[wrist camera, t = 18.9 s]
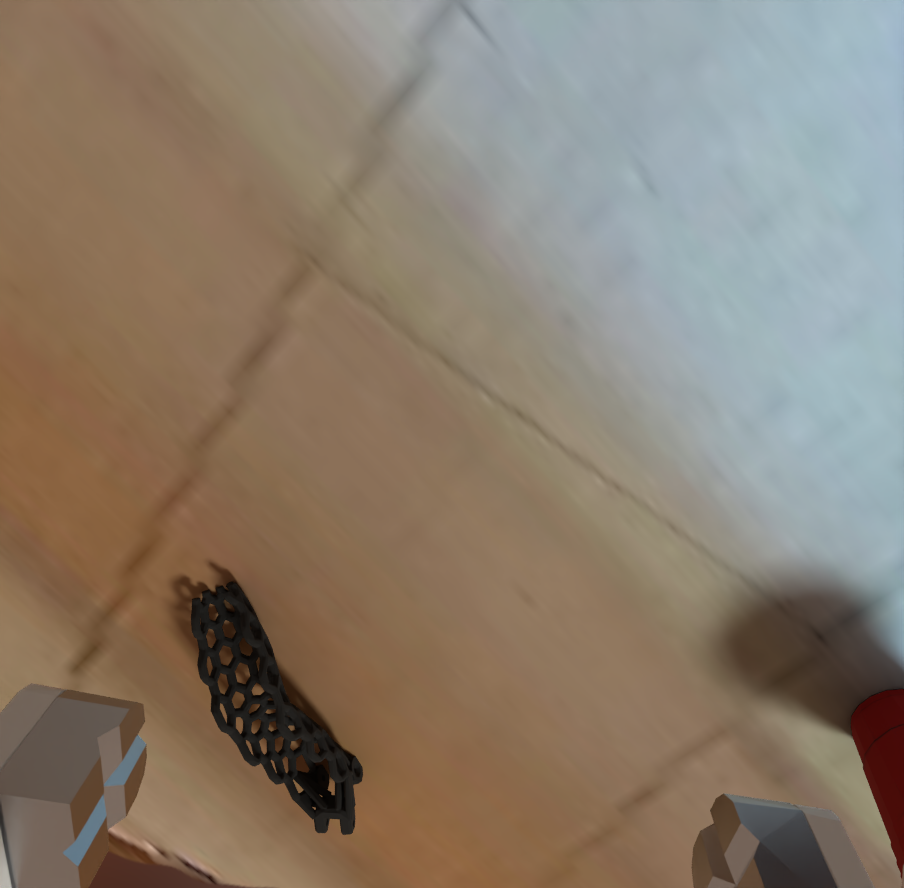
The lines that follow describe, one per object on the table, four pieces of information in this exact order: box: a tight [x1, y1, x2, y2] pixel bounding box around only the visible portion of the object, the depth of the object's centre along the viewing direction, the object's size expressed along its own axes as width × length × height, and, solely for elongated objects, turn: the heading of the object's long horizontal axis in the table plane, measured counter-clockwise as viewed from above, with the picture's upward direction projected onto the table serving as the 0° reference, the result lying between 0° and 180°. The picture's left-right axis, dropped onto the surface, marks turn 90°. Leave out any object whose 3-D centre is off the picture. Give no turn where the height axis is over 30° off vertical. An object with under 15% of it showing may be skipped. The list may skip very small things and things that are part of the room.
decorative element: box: [191, 582, 363, 835], centre depth 49 cm, size 22×5×6 cm, turn 22°
